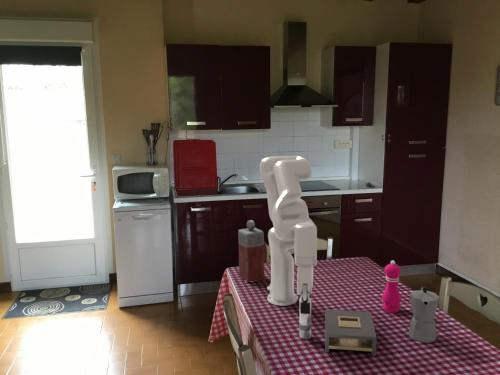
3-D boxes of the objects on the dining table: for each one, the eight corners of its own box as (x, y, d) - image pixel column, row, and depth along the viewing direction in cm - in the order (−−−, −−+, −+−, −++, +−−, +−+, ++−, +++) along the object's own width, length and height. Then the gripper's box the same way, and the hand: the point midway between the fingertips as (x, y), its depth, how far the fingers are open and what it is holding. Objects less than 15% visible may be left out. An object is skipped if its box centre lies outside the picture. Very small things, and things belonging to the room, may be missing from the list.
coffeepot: (439, 347, 146) (442, 296, 143) (408, 343, 149) (411, 293, 146) (434, 326, 161) (437, 278, 158) (407, 322, 164) (409, 276, 161)
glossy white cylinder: (296, 335, 156) (296, 298, 154) (305, 332, 158) (305, 295, 156) (304, 340, 153) (304, 302, 150) (314, 336, 155) (314, 299, 153)
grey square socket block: (325, 326, 162) (325, 308, 161) (370, 328, 160) (370, 311, 159) (325, 352, 145) (325, 333, 144) (375, 356, 142) (376, 336, 141)
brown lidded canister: (268, 278, 208) (268, 220, 204) (247, 283, 203) (246, 223, 199) (259, 272, 216) (259, 216, 211) (239, 276, 211) (237, 219, 206)
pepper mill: (401, 314, 171) (404, 264, 167) (382, 312, 172) (384, 263, 169) (399, 305, 178) (401, 257, 174) (380, 304, 179) (382, 257, 176)
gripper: (296, 251, 159) (296, 297, 162) (292, 267, 143) (293, 317, 145) (317, 252, 158) (317, 297, 161) (316, 268, 141) (316, 319, 144)
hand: (305, 307), depth 153 cm, fingers open, 9 cm apart
